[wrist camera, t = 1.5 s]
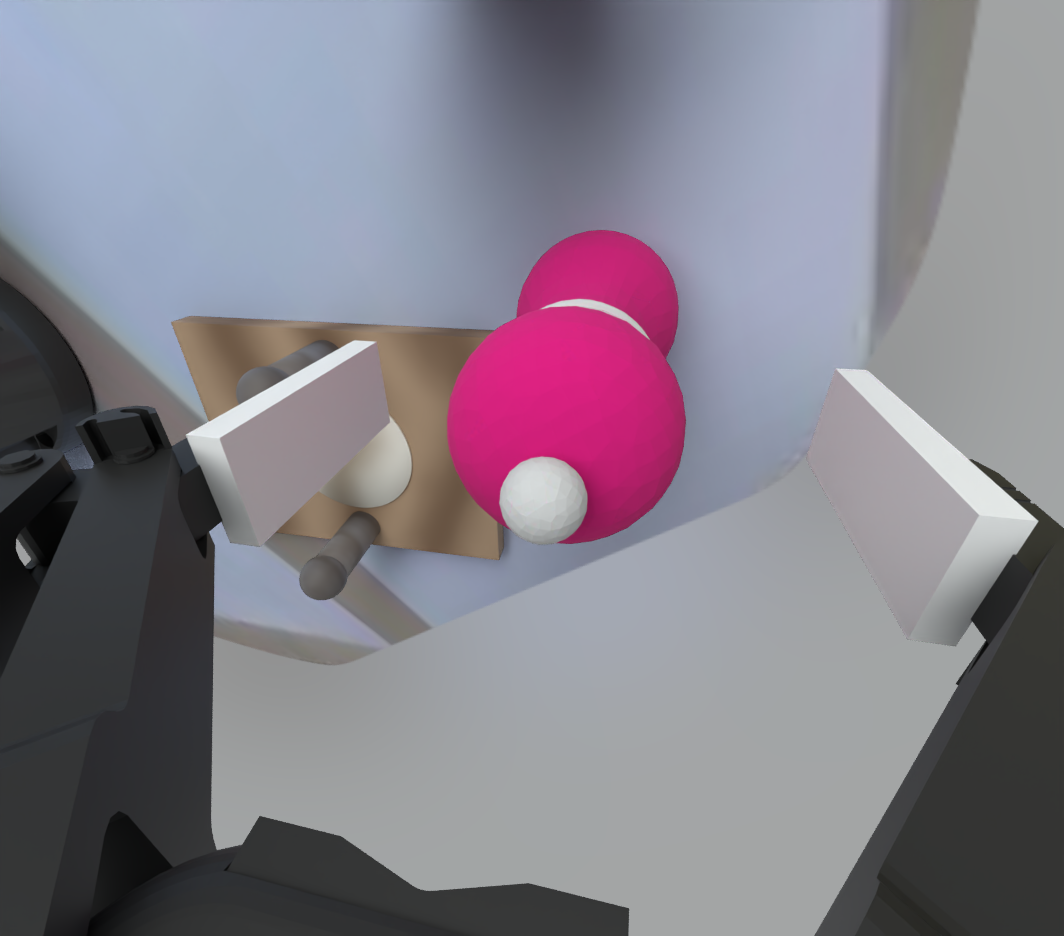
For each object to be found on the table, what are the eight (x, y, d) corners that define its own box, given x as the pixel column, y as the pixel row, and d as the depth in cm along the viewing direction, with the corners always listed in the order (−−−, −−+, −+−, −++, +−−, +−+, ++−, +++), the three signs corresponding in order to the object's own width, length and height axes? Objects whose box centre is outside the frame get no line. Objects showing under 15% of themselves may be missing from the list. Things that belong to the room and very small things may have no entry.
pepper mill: (690, 334, 26) (786, 627, 9) (566, 381, 29) (465, 676, 12) (646, 194, 23) (667, 247, 6) (513, 260, 26) (278, 422, 9)
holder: (262, 517, 39) (180, 593, 32) (189, 316, 31) (57, 357, 24) (503, 546, 36) (471, 637, 29) (494, 330, 28) (445, 383, 21)
